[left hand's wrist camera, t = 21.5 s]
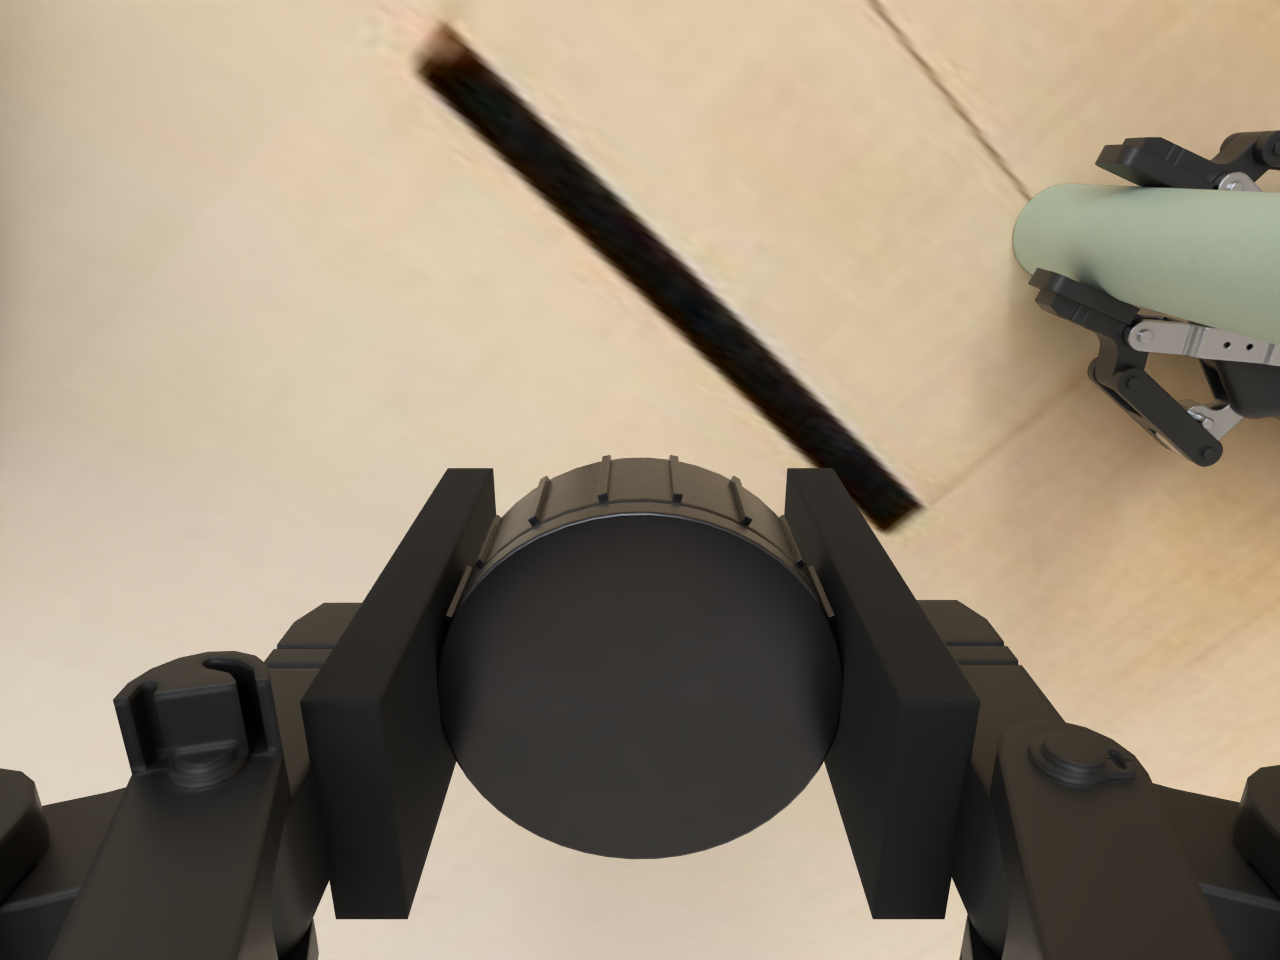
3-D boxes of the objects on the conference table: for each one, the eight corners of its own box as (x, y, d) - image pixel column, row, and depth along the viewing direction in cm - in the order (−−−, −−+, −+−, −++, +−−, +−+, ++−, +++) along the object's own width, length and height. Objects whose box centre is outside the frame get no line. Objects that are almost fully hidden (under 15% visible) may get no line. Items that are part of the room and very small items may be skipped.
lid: (401, 523, 12) (355, 591, 10) (759, 398, 11) (782, 445, 9) (541, 802, 13) (525, 905, 11) (859, 708, 13) (896, 801, 11)
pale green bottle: (1089, 285, 40) (1466, 385, 22) (1001, 273, 40) (1306, 364, 22) (1119, 190, 38) (1550, 212, 20) (1027, 177, 38) (1380, 187, 20)
